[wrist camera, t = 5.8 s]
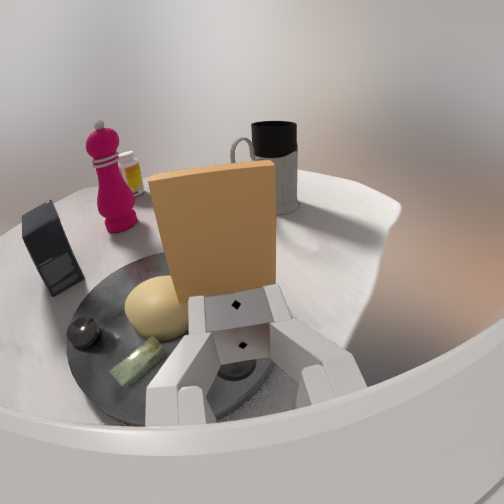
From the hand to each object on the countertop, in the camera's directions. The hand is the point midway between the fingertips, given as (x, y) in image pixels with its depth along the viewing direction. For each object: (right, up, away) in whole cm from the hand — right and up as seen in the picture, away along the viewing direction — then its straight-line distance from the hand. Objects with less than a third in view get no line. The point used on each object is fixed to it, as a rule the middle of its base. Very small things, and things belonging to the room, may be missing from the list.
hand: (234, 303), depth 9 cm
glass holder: (+3, +9, +39) cm, 41 cm away
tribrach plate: (-8, -6, +18) cm, 20 cm away
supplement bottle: (-27, +15, +51) cm, 60 cm away
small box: (-29, -2, +26) cm, 39 cm away
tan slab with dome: (-4, -4, +17) cm, 18 cm away
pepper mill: (-24, +7, +38) cm, 45 cm away
